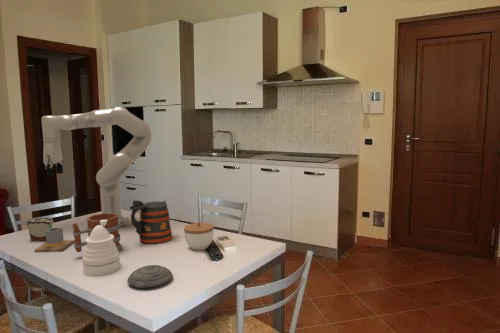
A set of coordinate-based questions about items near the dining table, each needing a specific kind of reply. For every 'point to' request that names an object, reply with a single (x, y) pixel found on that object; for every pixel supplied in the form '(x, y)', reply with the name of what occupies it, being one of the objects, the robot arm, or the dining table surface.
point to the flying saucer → (149, 276)
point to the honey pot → (100, 252)
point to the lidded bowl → (199, 235)
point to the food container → (39, 228)
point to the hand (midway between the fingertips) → (55, 174)
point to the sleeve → (54, 237)
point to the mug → (94, 221)
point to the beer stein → (152, 221)
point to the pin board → (55, 249)
